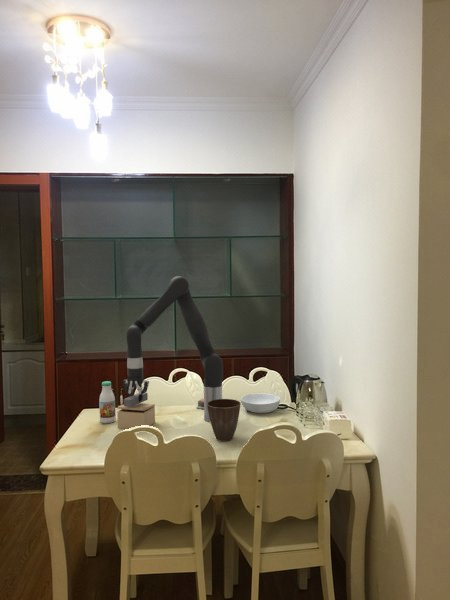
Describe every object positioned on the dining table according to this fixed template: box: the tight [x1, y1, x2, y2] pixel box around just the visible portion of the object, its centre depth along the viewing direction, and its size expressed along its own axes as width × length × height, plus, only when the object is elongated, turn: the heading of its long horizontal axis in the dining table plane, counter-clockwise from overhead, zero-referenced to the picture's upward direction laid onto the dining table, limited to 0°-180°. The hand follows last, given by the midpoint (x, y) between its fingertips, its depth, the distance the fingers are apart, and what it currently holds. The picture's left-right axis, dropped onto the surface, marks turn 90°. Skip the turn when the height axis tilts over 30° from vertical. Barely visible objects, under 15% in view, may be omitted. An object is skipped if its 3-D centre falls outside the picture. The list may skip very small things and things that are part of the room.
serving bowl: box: [240, 392, 281, 414], centre depth 257 cm, size 21×21×7 cm
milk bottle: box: [98, 380, 117, 424], centre depth 243 cm, size 8×8×20 cm
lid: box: [117, 402, 156, 411], centre depth 236 cm, size 14×12×1 cm
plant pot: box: [207, 398, 242, 442], centre depth 215 cm, size 15×15×16 cm
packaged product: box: [195, 397, 204, 411], centre depth 263 cm, size 18×5×10 cm
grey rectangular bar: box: [123, 392, 148, 407], centre depth 236 cm, size 14×4×4 cm, turn 155°
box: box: [116, 405, 156, 430], centre depth 236 cm, size 14×12×8 cm
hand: (136, 400), depth 236 cm, fingers closed on grey rectangular bar, 4 cm apart
